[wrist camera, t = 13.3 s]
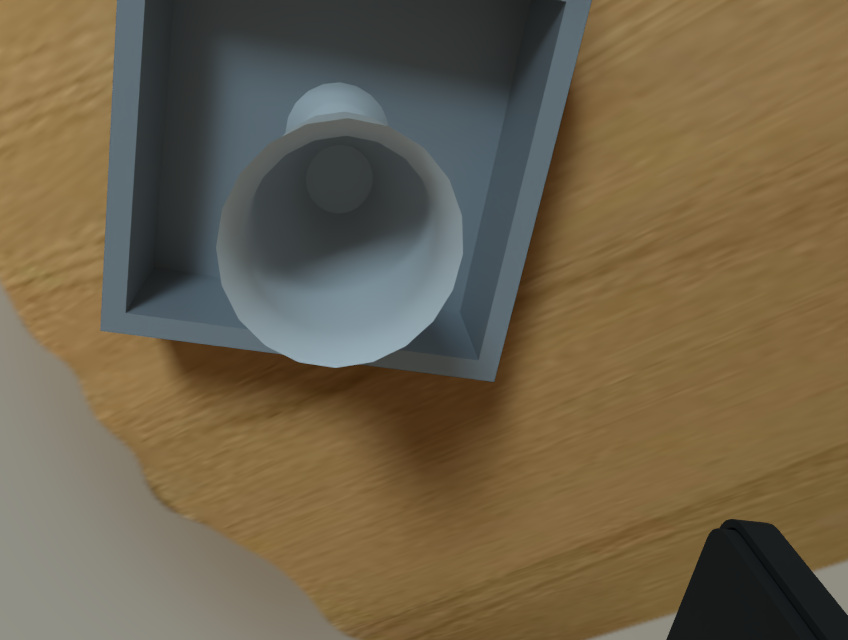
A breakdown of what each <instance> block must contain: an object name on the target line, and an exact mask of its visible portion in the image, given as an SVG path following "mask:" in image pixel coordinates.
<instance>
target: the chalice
mask: <svg viewBox="0 0 848 640" xmlns="http://www.w3.org/2000/svg"><path fill="white" fill-rule="evenodd" d="M216 251H217V257H218V264H219V271H220V277H221V284H222V287H223V289H224V291H225V293H226V295H227V297H228V299H229V301H230V303H231V305H232V307H233V309H234V311H235V313H236V315H237V317H238V319H239V320H240V321H241V322H242V323H243V324H244V325H245V326H246V327H247V328H248V329H249V330H250V331H251V332H252V333H253V334H254V335H255V336H256V337H257V338H258V339H259V340H260V341H261V342H262V343H263V344H264V345H265V346H267V347H269V348H271V349H273V350H275V351H277V352H279V353H281V354H283V355H285V356H287V357H289V358H291V359H293V360H295V361H297V362H300V363H306V364H313V365H320V366H327V367H333V368H338V367H345V366H351V365H357V364H364V363H370V362H374V361H376V360H378V359H380V358H382V357H384V356H386V355H388V354H390V353H392V352H395V351H397V350H399V349H401V348H403V347H405V346H406V345H408V344H409V343H410V342H411V341H412V340H413V339H414V338H415V337H416V336H418V335H419V334H420V333H421V332H422V331H423V330H424V329H425V328H426V327H428V326H429V325H430V324H431V323H432V322H433V321H434V319H435V318H436V316H437V315H438V313H439V311H440V310H441V308H442V307H443V305H444V303H445V302H446V300H447V299H448V297H449V295H450V294H451V292H452V291H453V288H454V284H455V281H456V277H457V274H458V270H459V266H460V263H461V259H462V256H463V233H462V214H461V211H460V209H459V206H458V203H457V200H456V197H455V194H454V191H453V189H452V186H451V183H450V180H449V178H448V177H447V176H446V175H445V173H444V172H443V171H442V170H441V168H440V167H439V166H438V165H437V163H436V162H435V161H434V160H433V158H432V157H431V156H430V154H429V153H428V152H427V151H426V149H425V148H424V147H422V146H420V145H419V144H417V143H415V142H414V141H412V140H411V139H409V138H407V137H406V136H404V135H402V134H401V133H399V132H398V131H396V130H394V129H393V128H391V127H389V123H388V121H387V118H386V116H385V114H384V111H383V109H382V107H381V106H380V105H379V104H378V102H377V101H376V100H375V99H374V98H373V97H372V95H370V94H369V93H367V92H365V91H364V90H362V89H361V88H359V87H357V86H354V85H350V84H345V83H341V82H338V83H328V84H322V85H320V86H318V87H316V88H313V89H311V90H309V91H308V92H306V93H305V94H304V95H303V96H302V97H301V98H300V99H299V100H298V101H297V102H296V103H295V105H294V107H293V109H292V111H291V113H290V115H289V116H288V121H287V127H286V132H285V134H284V135H283V136H282V137H281V138H279V139H277V140H275V141H273V142H271V143H269V144H268V145H267V146H266V147H265V148H264V149H263V150H262V151H261V152H260V153H259V154H258V155H257V156H256V157H255V158H254V159H253V160H252V161H251V162H250V163H249V164H248V165H247V166H246V167H245V169H244V170H243V171H242V172H241V173H240V174H239V176H238V178H237V180H236V182H235V184H234V186H233V188H232V190H231V192H230V194H229V196H228V198H227V200H226V202H225V204H224V206H223V208H222V213H221V219H220V226H219V232H218V238H217V244H216Z"/></svg>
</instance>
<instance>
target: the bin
mask: <svg viewBox="0 0 848 640" xmlns="http://www.w3.org/2000/svg"><path fill="white" fill-rule="evenodd" d="M591 1H592V0H117V12H116V32H115V52H114V72H113V92H112V111H111V131H110V151H109V171H108V191H107V211H106V231H105V250H104V270H103V290H102V310H101V330H100V331H107V332H115V333H122V334H130V335H138V336H145V337H153V338H161V339H168V340H176V341H184V342H191V343H199V344H207V345H214V346H222V347H230V348H237V349H245V350H253V351H260V352H268V353H276V354H281V353H279V352H277V351H275V350H273V349H271V348H269V347H267V346H265V345H264V344H263V343H262V342H261V341H260V340H259V339H258V338H257V337H256V336H255V335H254V334H253V333H252V332H251V331H250V330H249V329H248V328H247V327H246V326H245V325H244V324H243V323H242V322H241V321H240V320H239V319H238V317H237V315H236V313H235V311H234V309H233V307H232V305H231V303H230V301H229V299H228V297H227V295H226V293H225V291H224V289H223V287H222V284H221V277H220V271H219V264H218V257H217V251H216V244H217V238H218V232H219V226H220V219H221V213H222V208H223V206H224V204H225V202H226V200H227V198H228V196H229V194H230V192H231V190H232V188H233V186H234V184H235V182H236V180H237V178H238V176H239V174H240V173H241V172H242V171H243V170H244V169H245V167H246V166H247V165H248V164H249V163H250V162H251V161H252V160H253V159H254V158H255V157H256V156H257V155H258V154H259V153H260V152H261V151H262V150H263V149H264V148H265V147H266V146H267V145H268V144H269V143H271V142H273V141H275V140H277V139H279V138H281V137H282V136H283V135H284V134H285V132H286V127H287V121H288V116H289V115H290V113H291V111H292V109H293V107H294V105H295V103H296V102H297V101H298V100H299V99H300V98H301V97H302V96H303V95H304V94H305V93H306V92H308V91H309V90H311V89H313V88H316V87H318V86H320V85H322V84H328V83H338V82H341V83H345V84H350V85H354V86H357V87H359V88H361V89H362V90H364V91H365V92H367V93H369V94H370V95H372V97H373V98H374V99H375V100H376V101H377V102H378V104H379V105H380V106H381V107H382V109H383V111H384V114H385V116H386V118H387V121H388V123H389V127H391V128H393V129H394V130H396V131H398V132H399V133H401V134H402V135H404V136H406V137H407V138H409V139H411V140H412V141H414V142H415V143H417V144H419V145H420V146H422V147H424V148H425V149H426V151H427V152H428V153H429V154H430V156H431V157H432V158H433V160H434V161H435V162H436V163H437V165H438V166H439V167H440V168H441V170H442V171H443V172H444V173H445V175H446V176H447V177H448V178H449V180H450V183H451V186H452V189H453V191H454V194H455V197H456V200H457V203H458V206H459V209H460V211H461V214H462V233H463V256H462V259H461V263H460V266H459V270H458V274H457V277H456V281H455V284H454V288H453V291H452V292H451V294H450V295H449V297H448V299H447V300H446V302H445V303H444V305H443V307H442V308H441V310H440V311H439V313H438V315H437V316H436V318H435V319H434V321H433V322H432V323H431V324H430V325H429V326H428V327H426V328H425V329H424V330H423V331H422V332H421V333H420V334H419V335H418V336H416V337H415V338H414V339H413V340H412V341H411V342H410V343H409V344H408V345H406V346H405V347H403V348H401V349H399V350H397V351H395V352H392V353H390V354H388V355H386V356H384V357H382V358H380V359H378V360H376V361H374V362H370V363H364V364H360V365H368V366H375V367H383V368H391V369H398V370H406V371H414V372H421V373H429V374H437V375H445V376H452V377H460V378H468V379H475V380H483V381H491V382H494V381H495V377H496V373H497V369H498V365H499V361H500V357H501V353H502V349H503V345H504V342H505V338H506V334H507V330H508V326H509V322H510V318H511V314H512V310H513V306H514V302H515V299H516V295H517V291H518V287H519V283H520V279H521V275H522V271H523V267H524V263H525V259H526V256H527V252H528V248H529V244H530V240H531V236H532V232H533V228H534V224H535V220H536V216H537V212H538V209H539V205H540V201H541V197H542V193H543V189H544V185H545V181H546V177H547V173H548V169H549V166H550V162H551V158H552V154H553V150H554V146H555V142H556V138H557V134H558V130H559V126H560V122H561V119H562V115H563V111H564V107H565V103H566V99H567V95H568V91H569V87H570V83H571V79H572V76H573V72H574V68H575V64H576V60H577V56H578V52H579V48H580V44H581V40H582V36H583V33H584V29H585V25H586V21H587V17H588V13H589V9H590V5H591Z"/></svg>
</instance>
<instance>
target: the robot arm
mask: <svg viewBox="0 0 848 640" xmlns="http://www.w3.org/2000/svg"><path fill="white" fill-rule="evenodd" d="M667 640H848V615H847V614H846V613H845V612H844V610H843V609H842V608H841V607H840V605H839V604H838V603H837V602H836V600H835V599H834V598H833V597H832V596H831V594H830V593H829V592H828V591H827V590H826V588H825V587H824V586H823V584H822V583H821V582H820V581H819V580H818V578H817V577H816V576H815V574H814V573H813V572H812V571H811V570H810V568H809V567H808V566H807V565H806V563H805V562H804V561H803V560H802V558H801V557H800V556H799V555H798V554H797V552H796V551H795V550H794V549H793V547H792V546H791V545H790V544H789V542H788V541H787V540H786V539H785V537H784V536H783V535H782V534H781V533H780V531H779V530H778V529H777V528H776V527H775V526H774V525H772V524H769V523H764V522H754V521H745V520H736V519H730V520H726V521H725V522H724V523H723V524H722V525H721V526H720V528H717V529H714V530H712V531H711V532H710V534H709V536H708V537H707V540H706V542H705V545H704V547H703V550H702V552H701V555H700V557H699V560H698V562H697V565H696V567H695V570H694V572H693V575H692V577H691V580H690V582H689V585H688V587H687V590H686V592H685V595H684V597H683V600H682V602H681V605H680V607H679V610H678V612H677V615H676V617H675V620H674V622H673V625H672V627H671V630H670V632H669V635H668V637H667Z"/></svg>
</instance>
